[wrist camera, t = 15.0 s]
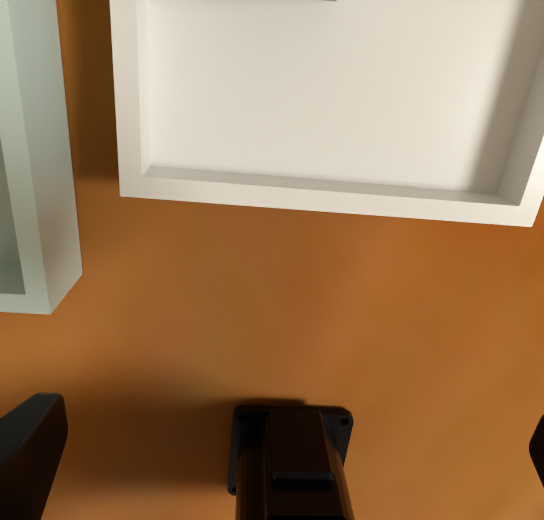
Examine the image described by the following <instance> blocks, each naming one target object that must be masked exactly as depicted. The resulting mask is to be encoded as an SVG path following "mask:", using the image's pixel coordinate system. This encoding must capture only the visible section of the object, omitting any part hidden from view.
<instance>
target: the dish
mask: <svg viewBox="0 0 544 520" xmlns="http://www.w3.org/2000/svg"><path fill="white" fill-rule="evenodd" d="M82 274H83V272H82V262H81V252H80V242H79V231H78V221H77V211H76V201H75V191H74V180H73V170H72V160H71V150H70V140H69V129H68V119H67V109H66V99H65V89H64V78H63V68H62V58H61V48H60V38H59V27H58V17H57V7H56V0H0V312H13V313H32V314H51V313H52V312H53V311H54V310H55V308H56V307H57V306H58V304H59V303H60V302H61V301H62V299H63V298H64V297H65V295H66V294H67V293H68V292H69V290H70V289H71V288H72V286H73V285H74V284H75V283H76V281H77V280H78V279H79V277H80V276H81V275H82Z"/></svg>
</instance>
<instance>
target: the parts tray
mask: <svg viewBox="0 0 544 520" xmlns="http://www.w3.org/2000/svg"><path fill="white" fill-rule="evenodd" d="M110 17H111V35H112V54H113V73H114V91H115V110H116V128H117V147H118V166H119V184H120V196H123V197H136V198H150V199H163V200H177V201H190V202H203V203H217V204H230V205H244V206H257V207H271V208H284V209H297V210H311V211H324V212H338V213H351V214H364V215H378V216H391V217H405V218H418V219H432V220H445V221H458V222H472V223H485V224H499V225H512V226H526V227H532V226H533V223H534V220H535V217H536V215H537V212H538V209H539V206H540V204H541V201H542V198H543V195H544V0H337V1H335V2H334V1H325V0H110Z"/></svg>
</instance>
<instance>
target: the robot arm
mask: <svg viewBox="0 0 544 520" xmlns="http://www.w3.org/2000/svg"><path fill="white" fill-rule="evenodd" d="M239 415H245V416H239ZM344 418H346V419H345V420H341V419H344ZM352 426H353V417H352V414H351V412H350V411H348V410H345V409H318V408H292V407H265V406H238V407H236V408H235V409H234V411H233V421H232V435H231V449H230V462H229V476H228V492H229V493H230V494H231V495H234V496H236V515H235V520H355V519H354V514H353V510H352V506H351V501H350V497H349V492H348V488H347V484H346V479H345V475H344V470H343V466H344V462H345V458H346V453H347V449H348V444H349V440H350V435H351V431H352ZM67 435H68V424H67V417H66V410H65V402H64V398H63V396H62V395H61V394H59V393H37V394H35V395H33V396H31V397H30V398H28V399H27V400H26V401H24V402H23V403H21V404H20V405H18V406H17V407H16V408H14V409H13V410H11V411H10V412H8V413H7V414H5V415H4V416H3V417H1V418H0V520H41V517H42V514H43V511H44V508H45V505H46V502H47V499H48V496H49V493H50V490H51V487H52V484H53V481H54V478H55V474H56V471H57V468H58V465H59V462H60V459H61V456H62V453H63V450H64V447H65V444H66V440H67ZM529 452H530V456H531V459H532V461H533V464H534V466H535V468H536V471H537V473H538V475H539V478H540V480H541V482H542V485H543V487H544V415H542V417H541V418H540V420H539V423H538V425H537V427H536V429H535V431H534V433H533V436H532V438H531V440H530V443H529Z"/></svg>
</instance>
